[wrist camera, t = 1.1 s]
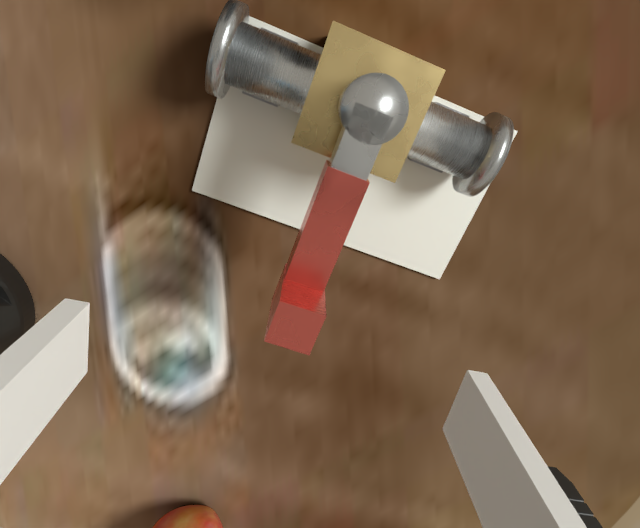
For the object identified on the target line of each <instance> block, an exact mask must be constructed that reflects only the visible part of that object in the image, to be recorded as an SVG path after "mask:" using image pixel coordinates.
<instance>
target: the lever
mask: <svg viewBox="0 0 640 528" xmlns="http://www.w3.org/2000/svg"><path fill="white" fill-rule="evenodd" d="M408 112H409V102H408V97H407V94H406V92H405V90H404V88H403V86H402V85H401V84H400V83H399V82H398V81H397V80H396V79H395V78H393V77H392V76H390V75H387V74H384V73H369V74H365V75H362V76H359V77H357V78H355V79H354V80H352V81H351V82H350V83H349V84H348V85H347V86H346V87H345V89H344V90H343V92H342V94H341V96H340V100H339V105H338V113H339V118H340V121H341V123H342V125H343V126H342V129H341V132H340V134H339V137H338V139H337V142H336V145H335V147H334V150H333V153H332V155H331V158H330V160H326V162H325V165H324V167H323V170H322V172H321V175H320V178H319V180H318V183H317V186H316V188H315V191H314V193H313V196H312V199H311V201H310V204H309V207H308V209H307V212H306V214H305V217H304V220H303V222H302V225H301V228H300V230H299V233H298V236H297V238H296V241H295V243H294V246H293V249H292V251H291V254H290V257H289V259H288V262H287V264H285V266H284V269H283V272H282V274H281V277H280V280H279V282H278V285H277V287H276V290H275V293H274V295H273V298H272V303H271V308H270V313H269V319H268V324H267V329H266V334H265V339H264V341H265V342H268V343H272V344H275V345H278V346H281V347H284V348H287V349H291V350H294V351H297V352H300V353H303V354H307V355H310V352H311V350H312V348H313V345H314V343H315V341H316V339H317V336H318V334H319V332H320V329H321V327H322V325H323V323H324V320H325V318H326V304H325V287H326V285H327V282H328V280H329V278H330V275H331V273H332V271H333V268H334V266H335V264H336V261H337V259H338V257H339V254H340V252H341V249H342V247H343V245H344V242H345V240H346V238H347V235H348V233H349V231H350V228H351V226H352V224H353V221H354V219H355V217H356V214H357V212H358V209H359V207H360V205H361V202H362V200H363V198H364V195H365V193H366V191H367V188H368V186H369V184H370V182H369V180H368V177H369V174H370V172H371V170H372V167H373V165H374V162H375V160H376V158H377V155H378V153H379V151H380V148H381V146H382V144H383V143H386V142H388V141H390V140H391V139H393V138H394V137H395V136H397V135H398V134H399V132H400V131H401V130H402V128H403V127H404V125H405V123H406V120H407V117H408Z"/></svg>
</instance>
